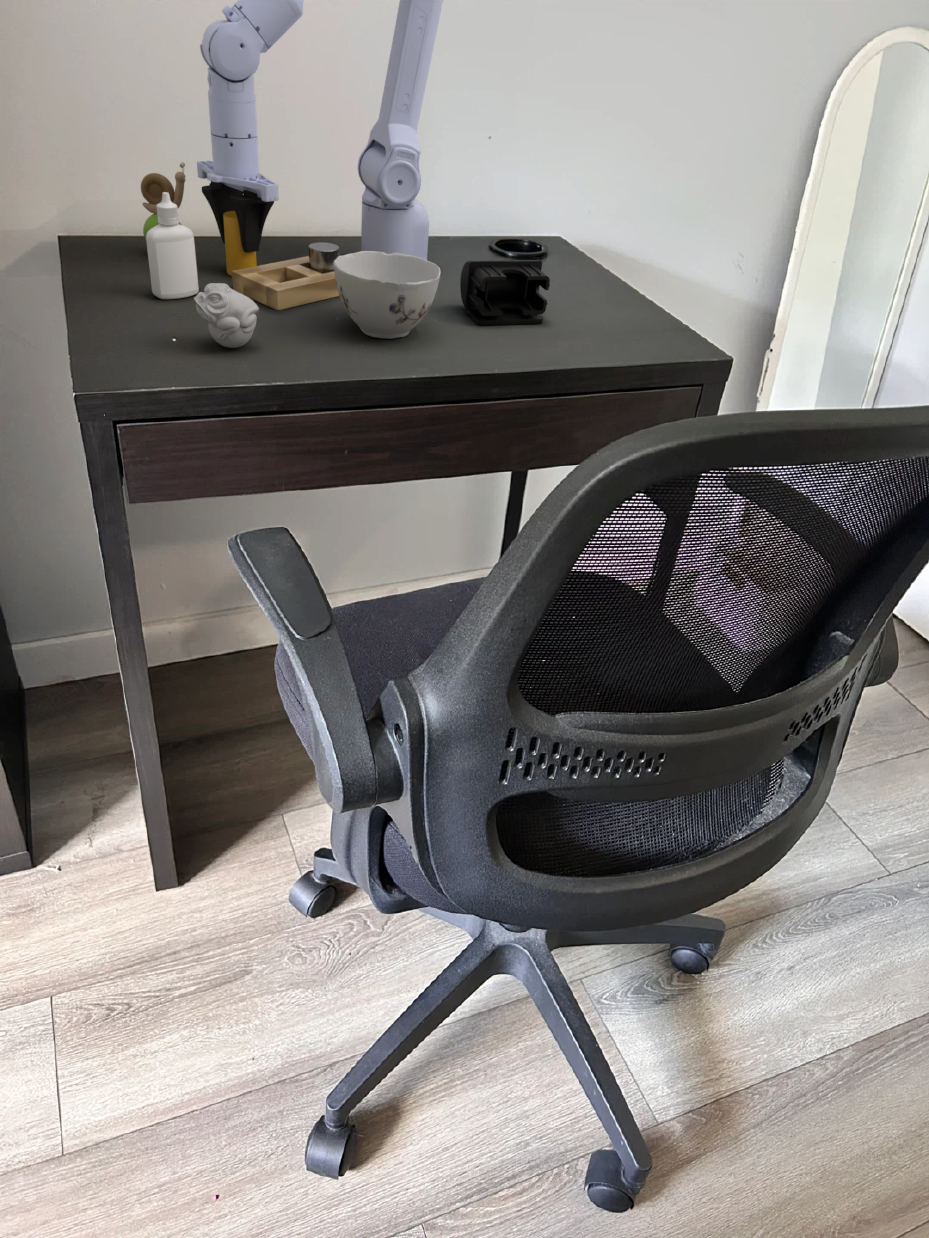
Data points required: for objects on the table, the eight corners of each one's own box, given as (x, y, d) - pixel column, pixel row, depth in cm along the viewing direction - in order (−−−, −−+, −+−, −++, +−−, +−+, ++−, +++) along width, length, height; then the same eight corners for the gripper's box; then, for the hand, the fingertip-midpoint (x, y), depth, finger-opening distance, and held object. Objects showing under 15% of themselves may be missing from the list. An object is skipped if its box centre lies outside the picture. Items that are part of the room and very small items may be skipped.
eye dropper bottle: (198, 300, 115) (189, 198, 108) (152, 300, 114) (139, 196, 107) (199, 289, 118) (190, 189, 111) (153, 288, 117) (141, 187, 110)
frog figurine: (194, 338, 105) (188, 276, 101) (255, 335, 107) (252, 274, 103) (202, 358, 101) (197, 294, 96) (266, 354, 103) (263, 292, 99)
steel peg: (325, 278, 126) (325, 240, 123) (345, 286, 124) (345, 248, 121) (303, 283, 124) (302, 245, 121) (322, 291, 122) (322, 252, 119)
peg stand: (232, 290, 119) (231, 271, 118) (327, 270, 129) (327, 252, 128) (277, 310, 115) (277, 290, 113) (372, 288, 125) (372, 269, 123)
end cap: (527, 305, 125) (533, 254, 120) (547, 324, 119) (554, 270, 115) (457, 307, 122) (461, 254, 117) (475, 326, 116) (480, 271, 112)
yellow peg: (244, 266, 128) (241, 209, 123) (263, 274, 126) (260, 216, 121) (221, 271, 125) (216, 213, 121) (239, 279, 123) (235, 220, 119)
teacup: (453, 345, 110) (459, 277, 106) (356, 354, 105) (357, 284, 100) (403, 304, 121) (405, 240, 116) (312, 311, 116) (311, 245, 111)
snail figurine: (187, 261, 127) (178, 167, 120) (140, 257, 127) (129, 162, 120) (197, 250, 132) (189, 159, 124) (152, 246, 131) (141, 154, 124)
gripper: (173, 125, 116) (183, 237, 124) (243, 148, 109) (249, 265, 117) (219, 122, 121) (226, 230, 129) (290, 144, 114) (293, 257, 122)
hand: (240, 247), depth 123 cm, fingers closed on yellow peg, 4 cm apart
